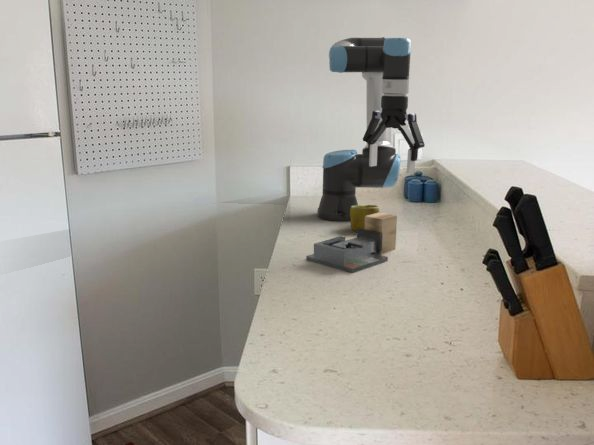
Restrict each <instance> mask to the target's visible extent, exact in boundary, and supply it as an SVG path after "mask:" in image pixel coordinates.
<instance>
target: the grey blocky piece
mask: <svg viewBox="0 0 594 445" xmlns="http://www.w3.org/2000/svg"><path fill="white" fill-rule="evenodd" d="M382 235H383V233H381V232H377V231H372V230H368V229H363V228H357V232H356V237H354V238H349V239H345V241H343V242H339V243H336V244H332V245H331V246H333V247H337V248H341V249H346V248H350V247H353V246H354V247H358V248H363V245H360V244H363V243H366V242H367V243H371V253H374V252H375V251H378V252H380V251H382Z"/></svg>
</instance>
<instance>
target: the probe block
mask: <svg viewBox="0 0 594 445" xmlns="http://www.w3.org/2000/svg"><path fill="white" fill-rule="evenodd" d="M397 219H398V215H396V214H390V213H387V212H380V211H379V213H375V214H371V215H367V216H365V229H368V230H372V231H377V232H381V233H383V235H382V251H380V252H378V251H375V252H376V253H375V254H378V253H380V254H379V255H382V253H383V254H385V252H386V253H389V252H392V251H395V250H396V244H397V243H396V242H397V224H398V223H397V221H398V220H397ZM388 251H389V252H388Z"/></svg>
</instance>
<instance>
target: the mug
mask: <svg viewBox="0 0 594 445" xmlns="http://www.w3.org/2000/svg"><path fill="white" fill-rule="evenodd" d="M379 212H380V206H379V205H377V204H376V205H375V204H360V205H359V204H358V206H351V208H350V217H351V220H350V226H351V229H352V231H353V232H355V233H357V228H363V229H365V216H367V215H371V214H375V213H379Z"/></svg>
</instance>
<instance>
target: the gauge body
mask: <svg viewBox="0 0 594 445" xmlns="http://www.w3.org/2000/svg"><path fill="white" fill-rule="evenodd" d="M343 241H346V237H345V236H337V237H333V238H329V239H326V240H323V241H319V242H315V243H313V253H312V254H308V255H306V258H305V260H306V261H310V262H314V263H317V264H320V265H323V266H328V267H331V268H334V269H337V270H340V271H344V272H347V273H351V274H353V273H357V272H358V271H362V270H365V269H368V268H370V267H373V265H374V266H376V264H377V265H379V264H382V263H384V262H388V258H389V257H388V256H385V255H382V254H378V253H374V252H372V253H371V243H367V242H366V243H363V244H360V245H363V248H358V247H354V246H353V247H350V248H346V249H341V248H337V247H333V246H331V245H332V244H336V243H339V242H343ZM378 263H379V264H378Z"/></svg>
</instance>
